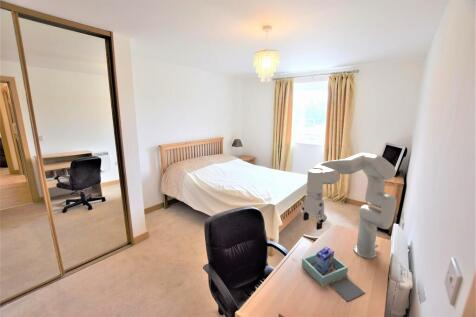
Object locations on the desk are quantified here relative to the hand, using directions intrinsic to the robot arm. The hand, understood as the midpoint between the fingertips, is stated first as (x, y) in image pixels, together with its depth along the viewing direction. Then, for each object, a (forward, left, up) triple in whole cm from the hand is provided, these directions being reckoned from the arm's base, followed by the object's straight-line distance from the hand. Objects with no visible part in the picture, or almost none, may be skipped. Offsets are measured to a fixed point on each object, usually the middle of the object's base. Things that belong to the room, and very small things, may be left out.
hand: (312, 224), depth 110 cm
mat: (-11, +16, -31) cm, 36 cm away
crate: (-10, +1, -31) cm, 33 cm away
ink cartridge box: (-10, +1, -31) cm, 33 cm away
